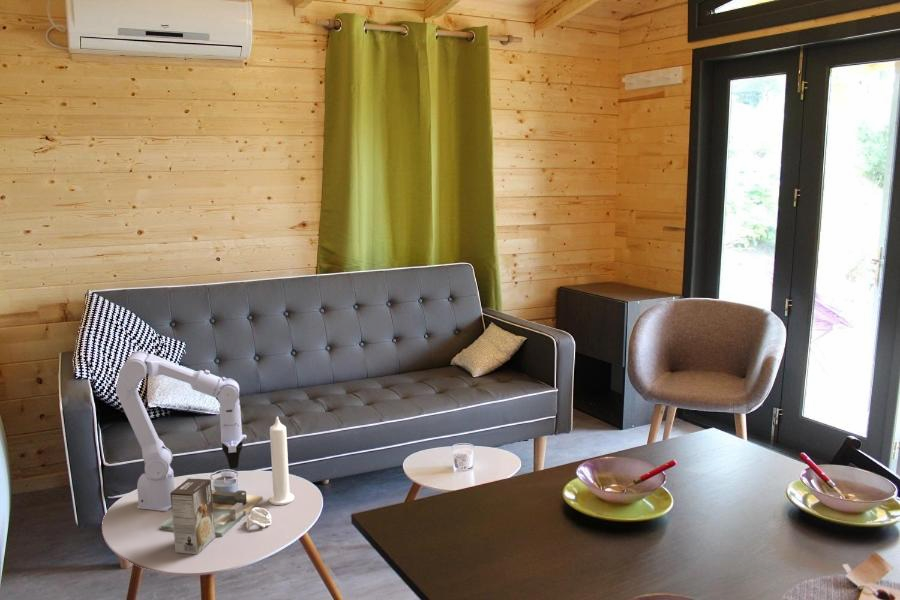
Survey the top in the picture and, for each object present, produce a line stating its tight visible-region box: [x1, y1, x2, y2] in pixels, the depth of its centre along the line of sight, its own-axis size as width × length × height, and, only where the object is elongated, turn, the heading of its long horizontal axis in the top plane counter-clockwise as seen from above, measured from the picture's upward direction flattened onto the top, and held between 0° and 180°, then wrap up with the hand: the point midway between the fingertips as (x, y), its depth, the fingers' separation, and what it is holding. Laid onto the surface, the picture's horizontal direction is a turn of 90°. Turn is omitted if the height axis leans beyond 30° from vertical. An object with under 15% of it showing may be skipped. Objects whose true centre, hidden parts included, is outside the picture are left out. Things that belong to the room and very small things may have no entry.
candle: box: [268, 416, 295, 506], centre depth 215 cm, size 7×7×25 cm
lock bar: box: [212, 489, 247, 505], centre depth 213 cm, size 12×3×3 cm, turn 76°
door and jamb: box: [159, 494, 263, 537], centre depth 209 cm, size 18×22×4 cm
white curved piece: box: [245, 507, 272, 530], centre depth 203 cm, size 8×7×5 cm
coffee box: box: [170, 477, 216, 555], centre depth 191 cm, size 9×6×16 cm
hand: (233, 467), depth 218 cm, fingers closed
